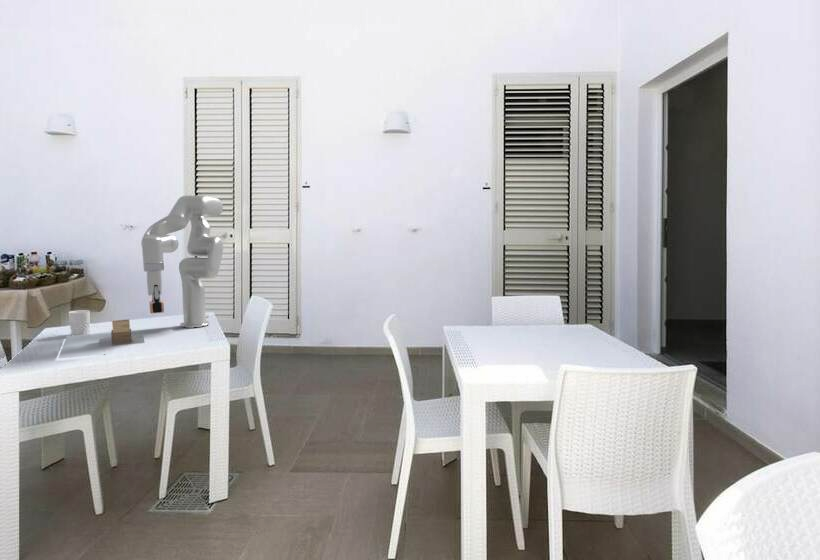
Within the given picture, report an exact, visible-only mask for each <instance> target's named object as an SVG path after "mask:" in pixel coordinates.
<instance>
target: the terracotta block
mask: <svg viewBox="0 0 820 560" xmlns="http://www.w3.org/2000/svg"><path fill="white" fill-rule="evenodd" d="M160 301H161V308H162V312H156V313H154V312H153V304H152V303H153V302H152V301H148V302H149V312H150V314H152V315H153V314H161V313H165V307H164V306H165V305H164V301H163V300H160Z"/></svg>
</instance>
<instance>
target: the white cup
mask: <svg viewBox="0 0 820 560" xmlns="http://www.w3.org/2000/svg"><path fill="white" fill-rule="evenodd" d="M90 312H91V311H90V310H89V309H80V310H79V309H77V310H71V311H68V320H69V327H70V333H71V334H70V335H71V336H72V335H73V336H81V335H82V336H84V335H85V336H86V335H90V331H91V330H90V328H91V313H90Z"/></svg>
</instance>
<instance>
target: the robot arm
mask: <svg viewBox="0 0 820 560" xmlns="http://www.w3.org/2000/svg"><path fill="white" fill-rule="evenodd" d="M223 210H224V205H223V203H222V201H221V200H220V199H219V198H217V197H212V196H207V195H182V196H180V197H179V198H178V199H177V201H176V202H175V203H174V205H173V207H172V208H171V210H170V212H169V213H168V214H167V216H164V217H163V218H161V219H159V220H158V221H156V222H154V223H153V224H151V225H150V226H149V227H148V228H147V230H146V231H145V232H144V234H143V236H142V237H141V242H140V243H141V249H142V262H143V263H142V265H143V271H144V272H146V283H147V284H146V285H147V295H148V296H149V297H151V302H153V303H152V304H153V312H154V313H153V314H157V313H156V312H162V308H161V301H162V300H161V296H162V294H163V289H162V288H163V285H162V281H163V280H162V271H165V264H164V253H166V254H169V253H174V252H175V251H176V250H177V249H178V247H179V240H178V238H177V237H176V236H175V235H172V233H176V232H178V231H182V230H183V229H185V228H186V227H187V226H188V223H189V222H190V224H191V228H190V233H189V234H190V235H189V237H188V242H187V246H186V249H187V250H186V251H187V253H188V254H189V255H190V256H192V257H186V258H183V259H181V260H180V262H179V263H178V271H179V275H180V280H181V290H182V309H183V322H181V323H180V324H179V326H180V327H181V328H184V327H185V328H186V329H192V328H193V329H195V328H194V327H197V328H203V327H202V326H204V327H207V325H208V326H209V325H210V321H208V320H207V319H209V318H210V314H209V313H206V298H205V295H206V294H205V286H204V283H203V281H202V280H201V279H207V280H208V279H214V278H216V277H217V276H218V275H219V272H220V268H221V262H222V257H223V251H224V244H223V241H222V239H221V238H220V237H218V236H215V235H210V234H211V226H210V224H209V222H208V220H206V218H205V217H212V218H213V217H219V216H221V215H222V213H223ZM185 328H184V329H185Z"/></svg>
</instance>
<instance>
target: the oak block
mask: <svg viewBox="0 0 820 560" xmlns="http://www.w3.org/2000/svg"><path fill="white" fill-rule="evenodd" d="M111 321H112V322H111V323H112V330H113V333H119V332H130V329H131V326H130V325H131V324H130V319H129V318H128V319H114V320H113V319H112V320H111Z"/></svg>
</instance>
